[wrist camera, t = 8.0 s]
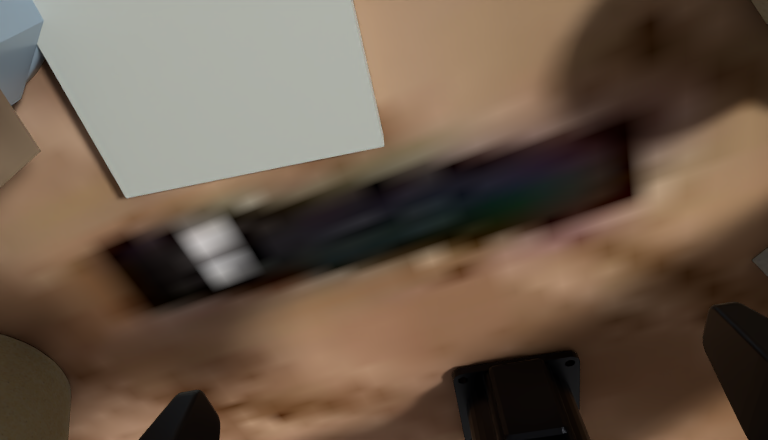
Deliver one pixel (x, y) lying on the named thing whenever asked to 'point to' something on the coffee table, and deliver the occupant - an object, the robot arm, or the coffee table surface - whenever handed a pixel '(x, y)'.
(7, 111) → the lid
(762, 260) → the tall grey upright box
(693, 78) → the coffee table surface
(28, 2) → the bowl
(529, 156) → the coffee table surface
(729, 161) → the coffee table surface
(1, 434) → the plant pot
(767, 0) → the ceramic mug
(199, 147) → the mat
